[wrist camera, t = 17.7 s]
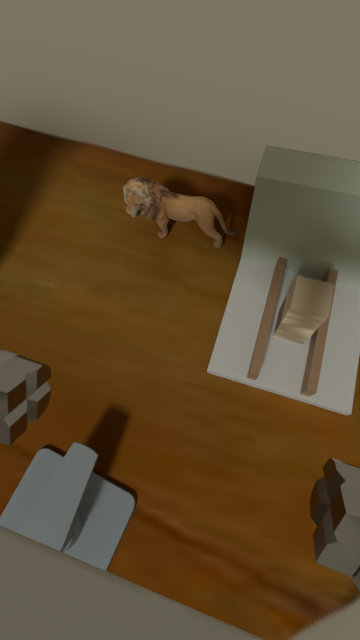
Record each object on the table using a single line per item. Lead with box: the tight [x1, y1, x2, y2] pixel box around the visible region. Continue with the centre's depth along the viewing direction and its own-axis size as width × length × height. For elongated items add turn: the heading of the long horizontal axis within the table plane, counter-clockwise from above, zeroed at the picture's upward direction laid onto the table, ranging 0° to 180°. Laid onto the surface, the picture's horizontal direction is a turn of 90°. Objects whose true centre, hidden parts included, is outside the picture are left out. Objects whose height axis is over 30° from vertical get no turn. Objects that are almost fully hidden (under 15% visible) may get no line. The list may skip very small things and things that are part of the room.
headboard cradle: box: [207, 146, 360, 415], centre depth 34 cm, size 16×20×15 cm
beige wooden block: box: [273, 276, 335, 344], centre depth 35 cm, size 4×4×8 cm
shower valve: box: [0, 442, 136, 571], centre depth 32 cm, size 12×6×15 cm
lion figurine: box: [123, 178, 236, 248], centre depth 42 cm, size 15×5×9 cm, turn 83°
